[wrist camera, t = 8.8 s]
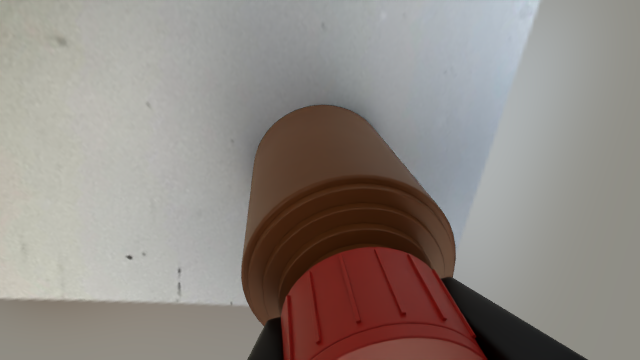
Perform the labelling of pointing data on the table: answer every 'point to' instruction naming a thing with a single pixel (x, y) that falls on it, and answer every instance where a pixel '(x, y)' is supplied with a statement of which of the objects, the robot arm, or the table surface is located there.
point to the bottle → (331, 204)
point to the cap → (374, 311)
